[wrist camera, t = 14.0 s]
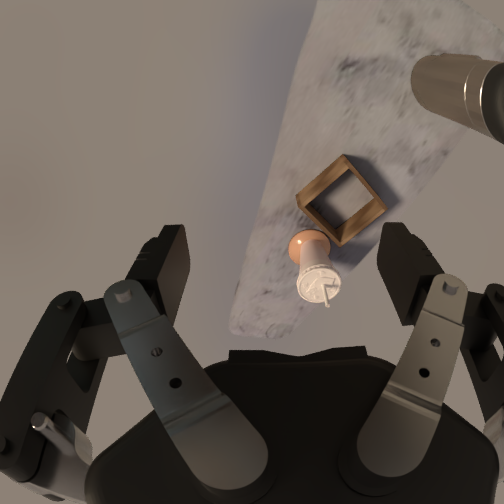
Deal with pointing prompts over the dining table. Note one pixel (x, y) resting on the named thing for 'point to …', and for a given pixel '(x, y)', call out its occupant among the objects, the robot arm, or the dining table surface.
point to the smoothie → (317, 274)
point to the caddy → (353, 223)
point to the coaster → (304, 236)
